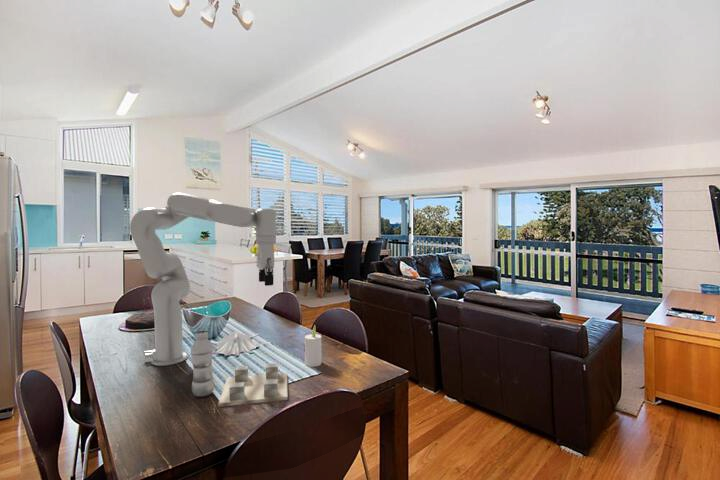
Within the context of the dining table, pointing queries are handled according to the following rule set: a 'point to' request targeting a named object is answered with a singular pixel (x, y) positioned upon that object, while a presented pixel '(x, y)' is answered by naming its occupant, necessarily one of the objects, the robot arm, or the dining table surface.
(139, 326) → the chocolate cake
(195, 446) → the dining table surface
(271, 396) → the cradle
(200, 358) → the plastic bottle
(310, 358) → the candle
